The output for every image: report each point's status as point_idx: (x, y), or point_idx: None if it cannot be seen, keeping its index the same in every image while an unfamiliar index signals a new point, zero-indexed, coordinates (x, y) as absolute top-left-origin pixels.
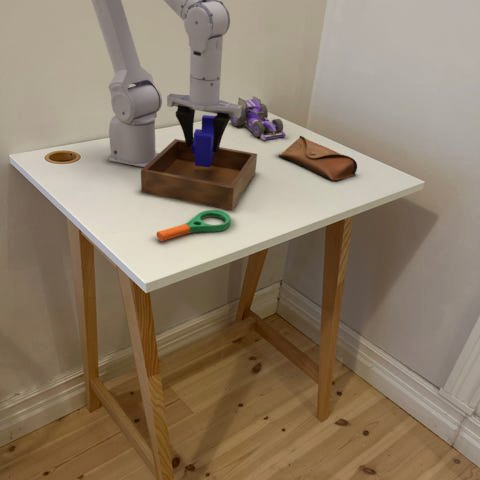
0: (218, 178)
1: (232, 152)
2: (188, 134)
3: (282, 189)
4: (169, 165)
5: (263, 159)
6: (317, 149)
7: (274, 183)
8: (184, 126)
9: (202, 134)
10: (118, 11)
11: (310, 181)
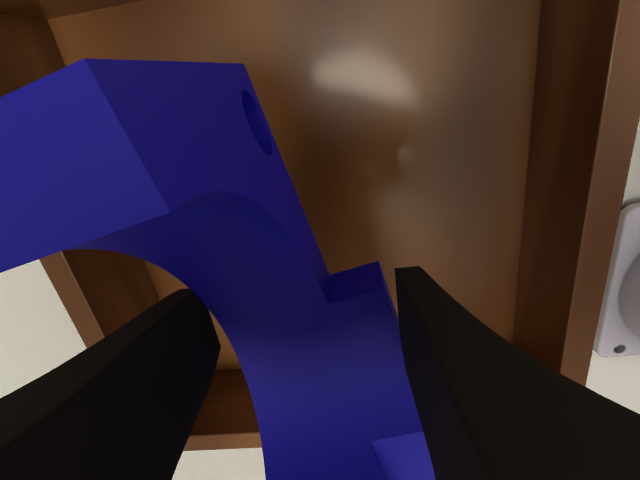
0: None
1: (248, 427)
2: (419, 327)
3: (27, 316)
4: (522, 262)
5: (225, 475)
6: None
7: (81, 344)
8: (494, 373)
9: (19, 184)
10: None
11: None
